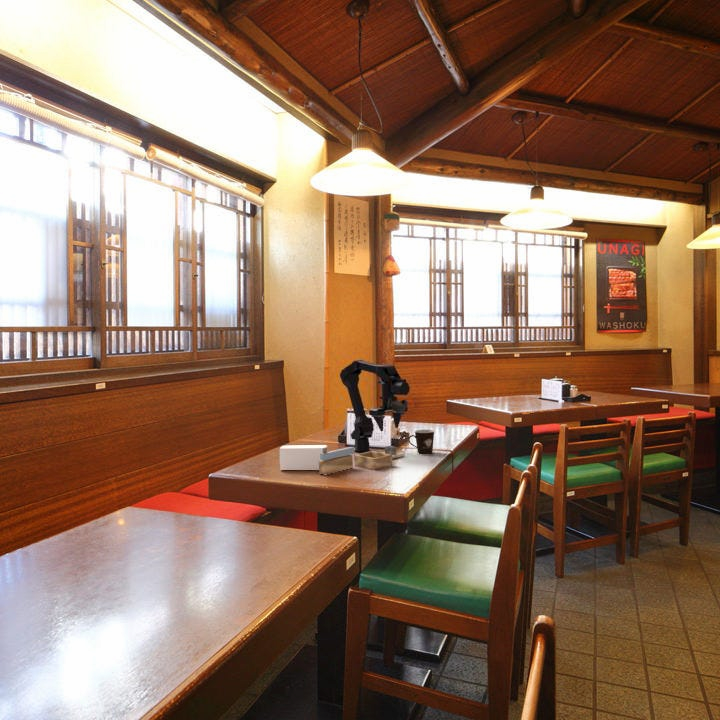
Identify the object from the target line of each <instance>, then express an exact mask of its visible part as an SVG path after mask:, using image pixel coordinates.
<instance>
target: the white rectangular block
mask: <svg viewBox="0 0 720 720" xmlns="http://www.w3.org/2000/svg"><path fill="white" fill-rule="evenodd" d="M323 448H328V445H326V444H322V445H321V444H319V445H318V444H317V445H315V444H313V445H311V444H309V445H307V444H306V445H305V444H303V445H302V444H301V445H299V444H298V445H282V446H281V447H280V448H279V452H278V457H279V458H278V459H279V460H278V461H279V462H278V463H279V469H280V471H281V470H319V461H321V460H320V453H323Z"/></svg>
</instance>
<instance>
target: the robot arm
mask: <svg viewBox="0 0 720 720" xmlns="http://www.w3.org/2000/svg"><path fill="white" fill-rule="evenodd" d="M363 371H365V372H368V373H372V374H374V375H376V377H378V378H380V379H379V380H377V384H381V385H380V386H381V396H379V400H381V405H380V406H379V407H372V408H370V409H369V410H368V413H369V414H368V415H369V416H371V417H369V416H367V414H366V411H365V406H364V403H363V400H362V396H361V391H360V388H359V382H360V375H361V374H362V372H363ZM339 378H340V380H341V383H342V384H343V385H344V386H345V387H346V388H347V392H348V396H349V399H350V404H351V406H352V410H353V414H354V417H355V419H354V423H353V427H354V430H353V431H352V432H351V433H350V439H351V440H354V453H357V454H361V453H365V452H369V451H373V450H372V449H371V448H370V439H369V438H372V437H373V434H374V433H373V432H374V430H375V429H374V427H375V425H374V423H373V420H375V423H376V424H377V427H378V429H379V430H380V432H384V419H385V417H386V415H385V414H386V413H392V419H393V425H394V428H395V429H399V425H400V423H401V418H402V416H403V415H404V414H406V412H408V411H409V410H408V405H409V403H408V400H407V399H402V400H399V399H398V396H408V394H409V393H410V389H411V387H410V384H409V383H408V382H407V379H406V378H402V377H401V376H400V374H399V372H398V370H397V368H396V366H395V365H394V364H377V363H373V362H371V361H365V360H363V359H357V360H356V359H355V360H353V361H351V363H350V364H348V365H347V366H345V367H344V368H342V370H340V373H339Z"/></svg>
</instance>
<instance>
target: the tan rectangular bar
mask: <svg viewBox="0 0 720 720" xmlns="http://www.w3.org/2000/svg"><path fill="white" fill-rule="evenodd" d="M353 461H354V457H353V454H350V455H346V456H341V457H337V458H332V459H328V460H321V461H319V471H318V472H319V473H318V475H319V474H323V475H325V474H329V473H333V474H335V473H334V472H337V473H339V472H338V471H341V472H343V471H342V470H345V471H347V470H346V469H349V470H351V469H350V468H354V465H353V463H354V462H353ZM323 475H322V476H323ZM329 475H330V474H329ZM325 476H326V475H325Z"/></svg>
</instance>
